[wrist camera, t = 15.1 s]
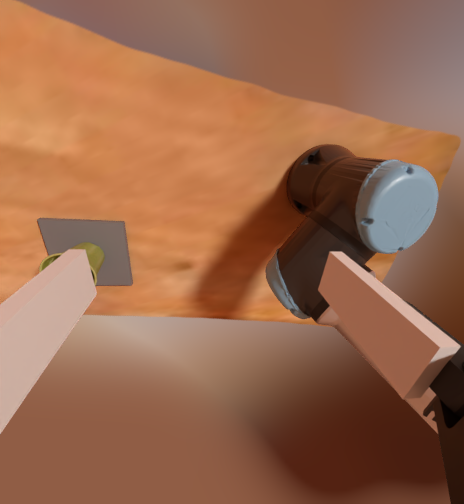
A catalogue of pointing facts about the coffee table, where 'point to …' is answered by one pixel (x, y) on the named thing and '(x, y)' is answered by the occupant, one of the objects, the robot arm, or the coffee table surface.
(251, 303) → the coffee table surface
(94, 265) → the plant pot
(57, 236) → the mat
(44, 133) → the coffee table surface
